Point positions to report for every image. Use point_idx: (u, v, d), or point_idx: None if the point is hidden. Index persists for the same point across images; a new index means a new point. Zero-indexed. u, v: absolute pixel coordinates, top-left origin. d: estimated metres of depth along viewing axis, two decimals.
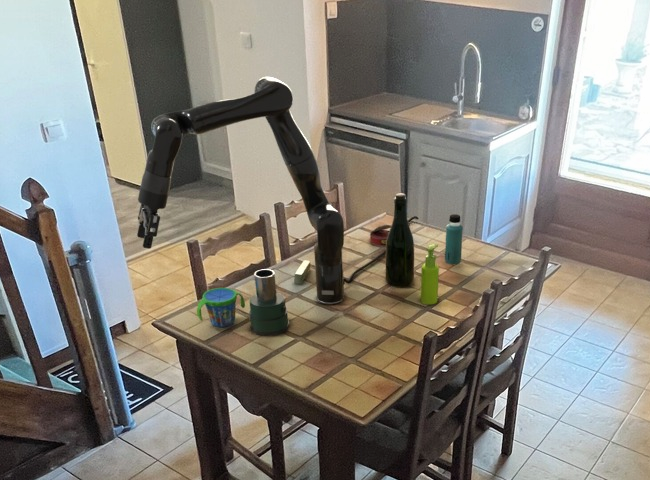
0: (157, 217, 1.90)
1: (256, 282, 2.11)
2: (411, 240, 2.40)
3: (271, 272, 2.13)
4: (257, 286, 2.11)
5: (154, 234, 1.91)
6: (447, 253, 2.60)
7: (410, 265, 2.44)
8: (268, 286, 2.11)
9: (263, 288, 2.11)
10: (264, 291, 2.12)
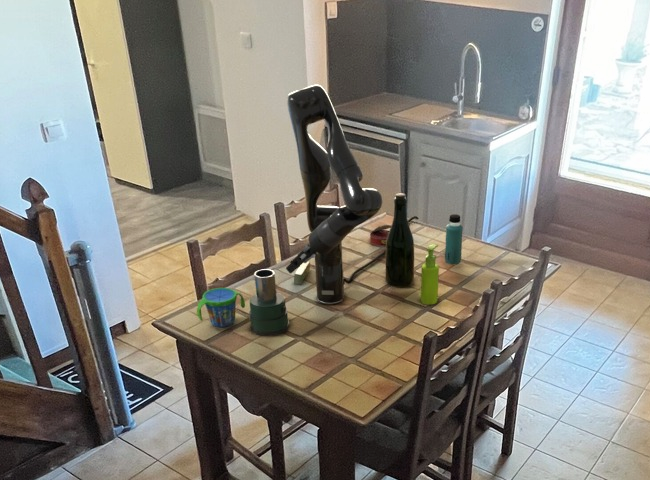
0: None
1: (256, 282, 2.11)
2: (411, 240, 2.40)
3: (271, 272, 2.13)
4: (257, 286, 2.11)
5: None
6: (447, 253, 2.60)
7: (410, 265, 2.44)
8: (268, 286, 2.11)
9: (263, 288, 2.11)
10: (264, 291, 2.12)
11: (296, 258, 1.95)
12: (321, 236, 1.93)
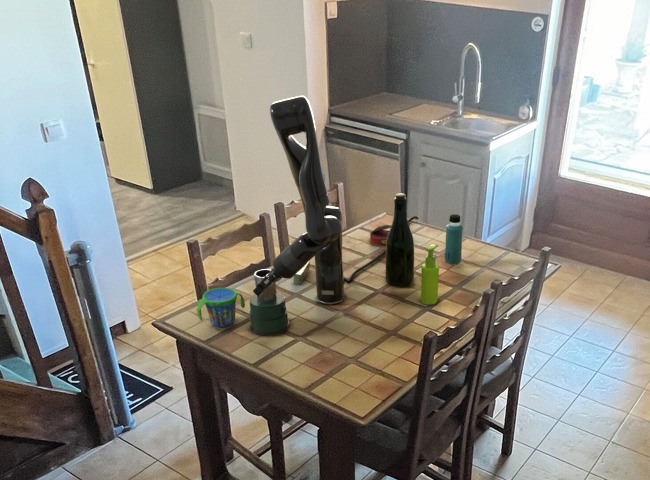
0: None
1: (256, 282, 2.11)
2: (411, 240, 2.40)
3: None
4: None
5: None
6: (447, 253, 2.60)
7: (410, 265, 2.44)
8: None
9: None
10: (264, 291, 2.12)
11: (261, 283, 2.05)
12: (284, 262, 2.02)
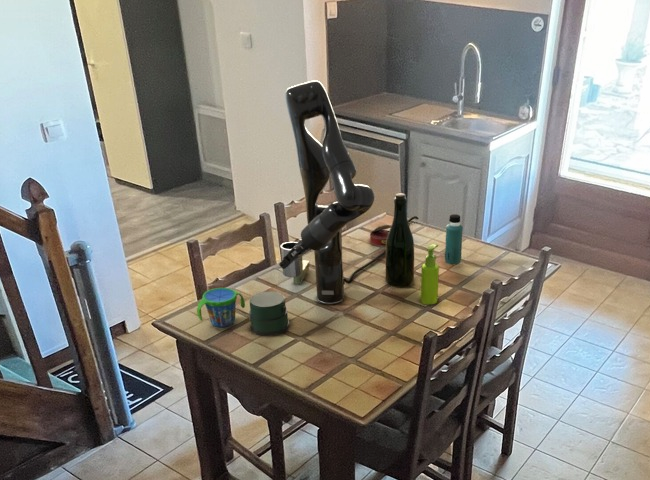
0: None
1: (282, 255, 2.02)
2: (411, 240, 2.40)
3: None
4: None
5: None
6: (447, 253, 2.60)
7: (410, 265, 2.44)
8: None
9: None
10: (291, 264, 2.03)
11: (288, 255, 1.97)
12: (313, 232, 1.93)
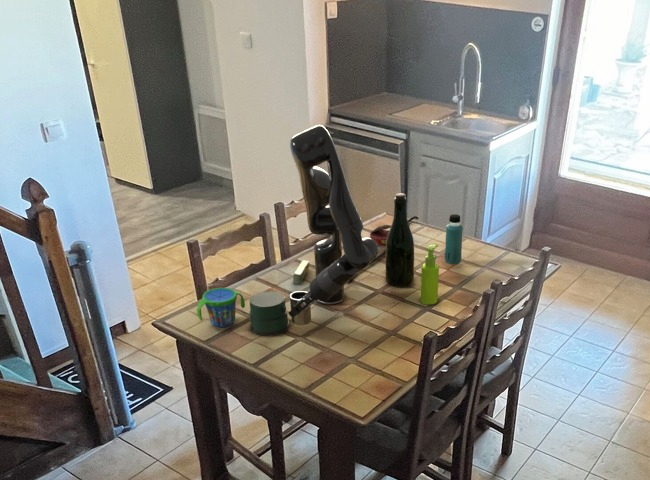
0: None
1: (291, 304, 2.10)
2: (411, 240, 2.40)
3: None
4: None
5: None
6: (447, 253, 2.60)
7: (410, 265, 2.44)
8: None
9: None
10: None
11: (297, 306, 2.05)
12: (321, 285, 2.01)
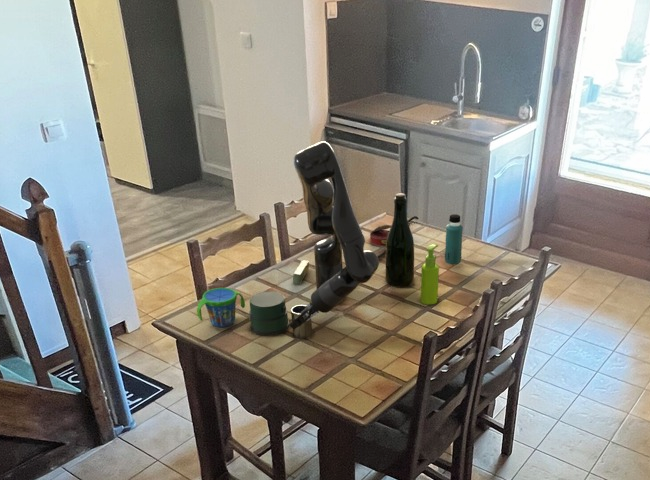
0: None
1: (292, 318, 2.13)
2: (411, 240, 2.40)
3: None
4: None
5: None
6: (447, 253, 2.60)
7: (410, 265, 2.44)
8: (305, 322, 2.13)
9: None
10: (300, 327, 2.13)
11: (299, 317, 2.06)
12: (323, 297, 2.03)
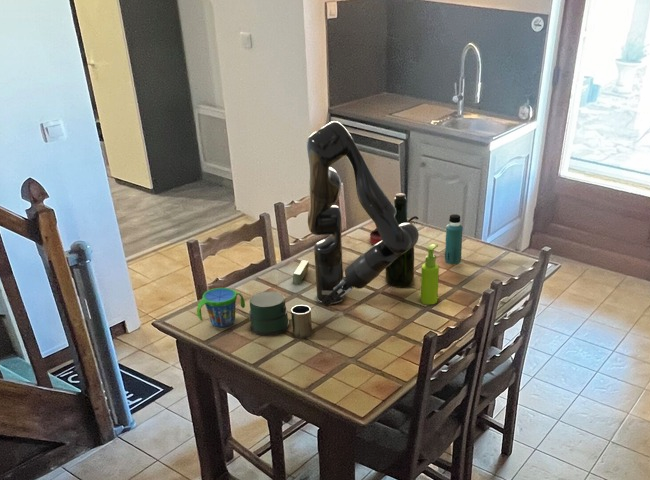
0: None
1: (292, 318, 2.13)
2: None
3: (307, 308, 2.15)
4: (294, 322, 2.13)
5: None
6: (447, 253, 2.60)
7: (410, 265, 2.44)
8: (305, 322, 2.13)
9: (300, 324, 2.13)
10: (300, 327, 2.13)
11: (333, 293, 1.97)
12: (358, 271, 1.94)
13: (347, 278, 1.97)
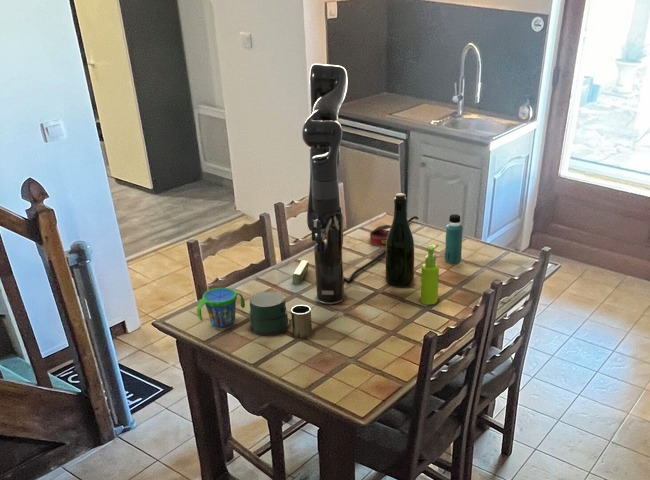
0: None
1: (292, 318, 2.13)
2: (411, 240, 2.40)
3: (307, 308, 2.15)
4: (294, 322, 2.13)
5: None
6: (447, 253, 2.60)
7: (410, 265, 2.44)
8: (305, 322, 2.13)
9: (300, 324, 2.13)
10: (300, 327, 2.13)
11: (312, 231, 1.92)
12: (316, 195, 1.90)
13: (316, 210, 1.93)
